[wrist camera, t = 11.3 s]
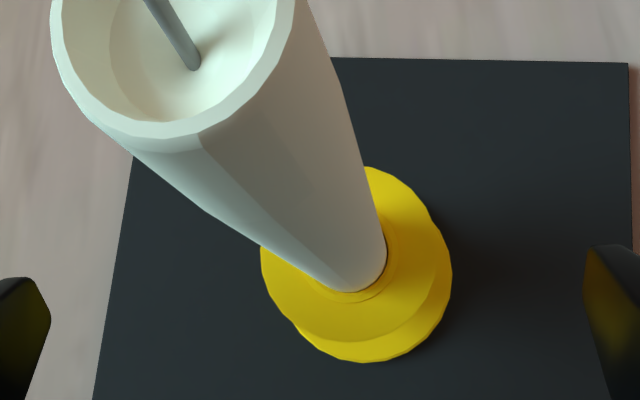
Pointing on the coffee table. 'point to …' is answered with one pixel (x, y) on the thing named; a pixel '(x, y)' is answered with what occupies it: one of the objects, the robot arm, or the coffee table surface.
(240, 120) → the candle
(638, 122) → the coffee table surface
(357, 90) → the mat
